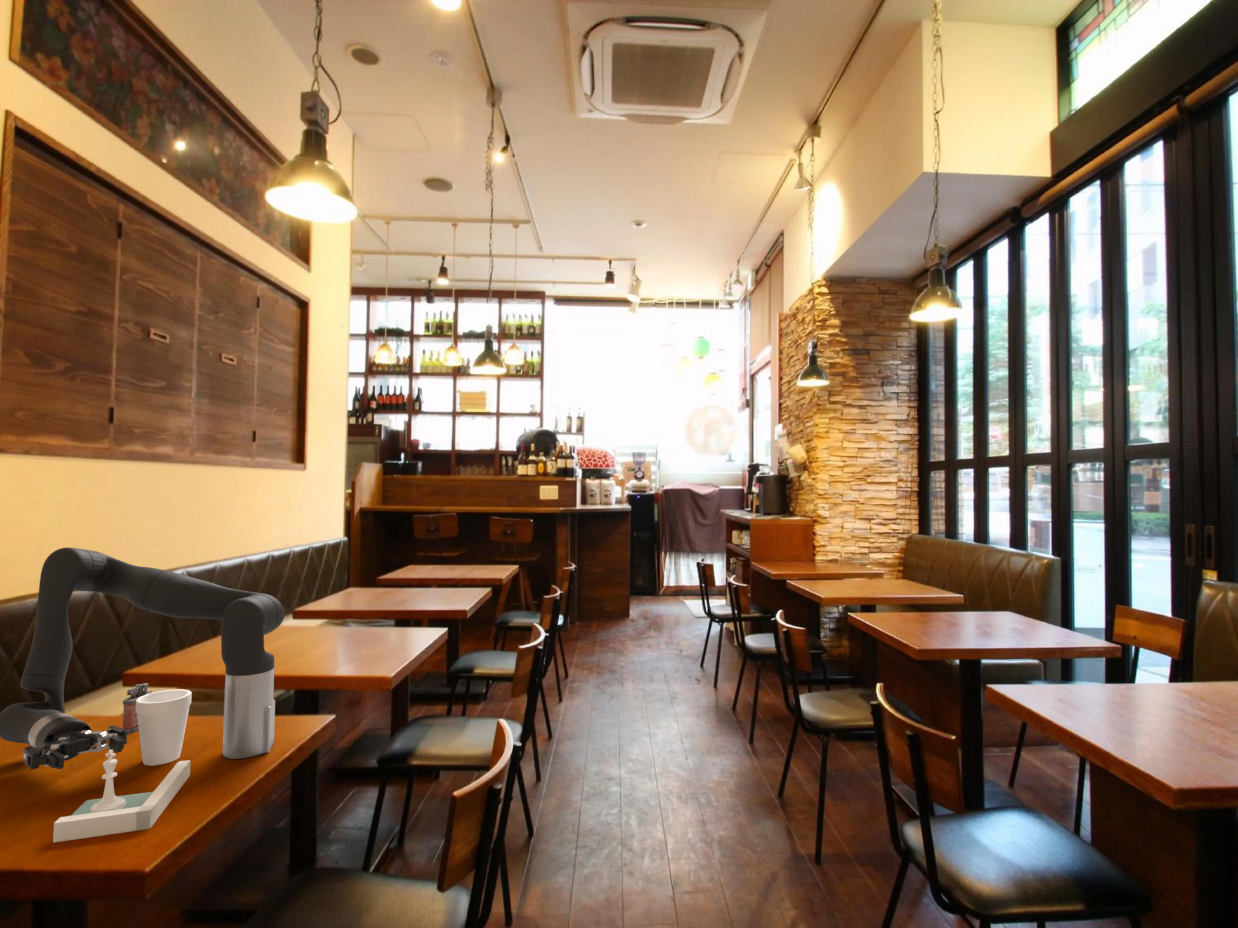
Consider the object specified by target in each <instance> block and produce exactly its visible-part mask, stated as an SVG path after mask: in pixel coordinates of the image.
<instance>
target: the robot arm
mask: <svg viewBox="0 0 1238 928" xmlns="http://www.w3.org/2000/svg"><path fill="white" fill-rule="evenodd" d="M73 592H92V593H101V594H106V595H111V596H116V597H119V598H123V599H124V600H126V601H128V602H129V603H130V604H132V605H134V606H135V607H137V608H139V609H141V610H144V611H147V612H150V613H155V614H158V615H161V616H167V617H172V618H180V619H207V620H210V619H211V620H218V621H221V622H220V623H221V624H220V625H221V626H220V637H221V638H220V643H221V645H220V647H221V660H222V661H223V664H224V666H225V677H224V679H225V680H224V681H225V682H224V701H223V702H224V703H223V731H222V732H223V733H222V756H223V757H224V758H226V759H230V760H233V759H234V760H235V759H236V760H237V759H239V760H240V759H247V758H252V757H255V756H260V755H262V754H268V753H270V751H271V749H272V747H273V745H274V743H275V717H276V716H275V714H276V700H275V699H274V689H275V687H274V684H275V682H274V681H275V656H274V653H271V652H267V651H266V650H265V635H268V634H270V633H272V632H274V631H276V629H278V628H279V627H280V626H281V625H282V623H283V621H284V620H285V609H284V606H283V605H282V603H281V602H280V601H279V600H278V599H277V598H276V597H275V596H273V595H270V594H267V593H262V592H254V591H248V590H240V589H235V588H229V587H226V586H222V585H219V584H216V583H214V582H210V581H206V580H203V579H199V578H195V577H192V576H189V575H187V574H186V575H185V574H184V573H183V574H182V573H178V572H174V571H171V570H165V569H161V568H155V567H148V566H147V567H146V566H139V565H135V564H132V563H128V562H125V561H123V560H120V559H117V558H114V557H113V556H110V555H107V554H106V553H103V552H99V551H95V550H91V549H84V548H79V547H78V548H77V547H62V548H58V549H56V550H54V551H52V552H51V553H50V554H49V555H48V556H47V557H46V558H45V561H44V562H43V564H42V569H41V572H40V578H39V586H38V597H37V605H36V614H35V624H34V630H33V631H34V632H33V637H32V642H31V646H30V649H29V653H28V656H27V659H26V663H25V667H24V669H23V672H22V676H21V679H20V687H21V688H22V689H24V690H26V691H32V692H39V693H42V694H43V695H44V701H34V702H32V701H29V702H28V701H27V702H16V703H12V704H10V705H8V706H6V707H5V708H4V709H2V711H0V739H1V740H4V741H6V742H12V743H19V744H27V745H28V746H26V747H24V748H23V764H25V766H27V767H28V768H29V769H30V770H36V769H38V768H40V766H43V765H44V767H50V768H52V769H57V770H60V769H63V768H64V767H65V765H64V764H65V762H66V761H67V762H68V761H70V760H71V759H74V758H76V757H78V756H79V755H80V754H85V753H98V752H101V751H103V750H108V749H109V750H113V753H114V754H118V753H121V752H122V750H123V749H124V748H125V745H126V744H128V734H127V730H125V729H123V727H119V726H117V725H110V726H108V727H107V730H105V731H104V730H103V731H101V730H99V731H98V730H97V731H96V730H92V728H91V727H90V725H89V724H88V723H87V722H86V721H83V720H81V719H79V718H78V717H75V716H73V715H71V714H68V713H66V711H65V710H66V709H65V708H66V707H65V699H64V698H65V697H64V695H65V693H64V691H65V690H64V689H65V680H66V676H67V672H68V670H69V665H70V661H71V658H72V654H73V646H74V645H73V644H74V643H73V636H72V631H71V628H70V622H69V604H70V601H71V597H72V595H73ZM106 741H107V743H106ZM95 745H96V746H95Z"/></svg>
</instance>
